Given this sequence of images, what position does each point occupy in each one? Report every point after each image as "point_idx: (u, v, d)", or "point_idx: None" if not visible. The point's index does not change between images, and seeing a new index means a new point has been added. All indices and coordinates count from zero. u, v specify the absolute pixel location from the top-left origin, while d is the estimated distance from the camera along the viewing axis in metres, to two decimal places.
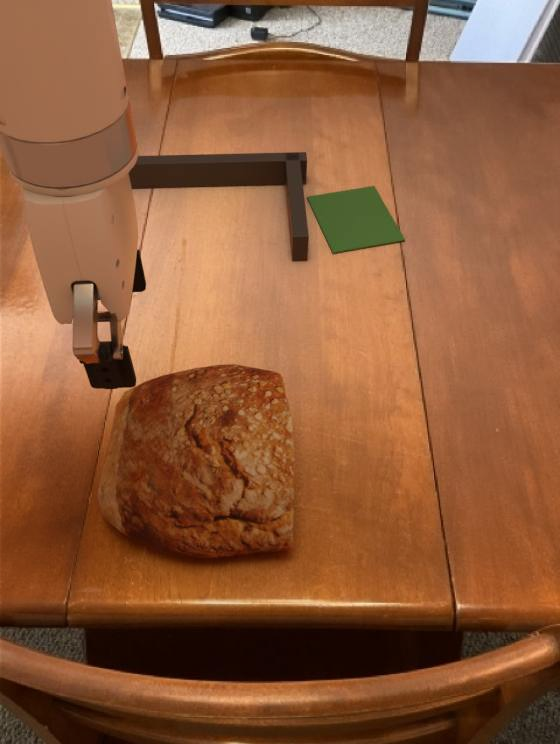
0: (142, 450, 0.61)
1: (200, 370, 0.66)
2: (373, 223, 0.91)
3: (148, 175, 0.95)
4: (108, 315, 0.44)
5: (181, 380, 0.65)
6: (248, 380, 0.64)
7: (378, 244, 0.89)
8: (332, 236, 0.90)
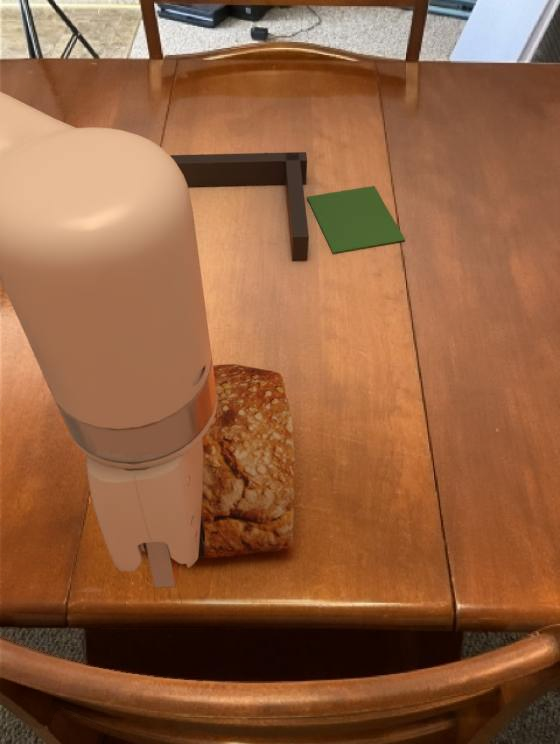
0: None
1: None
2: (373, 223, 0.91)
3: None
4: None
5: None
6: (248, 380, 0.64)
7: (378, 244, 0.89)
8: (332, 236, 0.90)
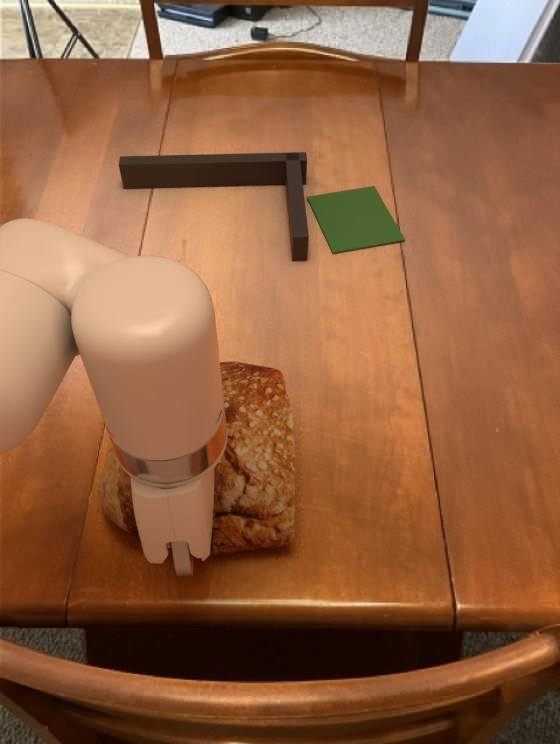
0: None
1: None
2: (373, 223, 0.91)
3: (148, 175, 0.95)
4: None
5: None
6: (249, 377, 0.64)
7: (378, 244, 0.89)
8: (332, 236, 0.90)
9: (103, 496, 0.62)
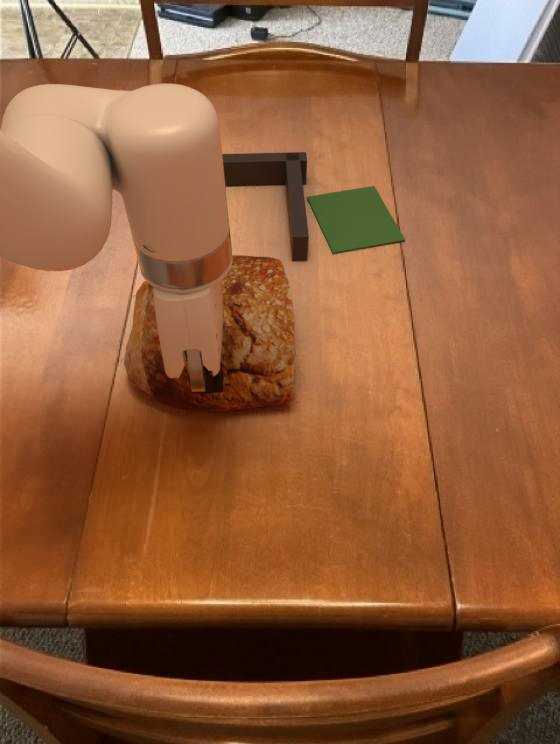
0: None
1: None
2: (373, 223, 0.91)
3: None
4: None
5: None
6: (252, 262, 0.74)
7: (378, 244, 0.89)
8: (332, 236, 0.90)
9: (128, 363, 0.72)
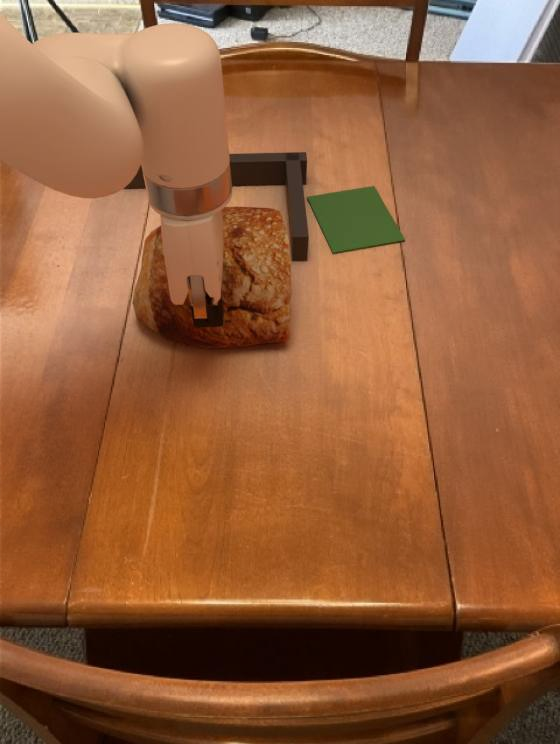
0: None
1: None
2: (373, 223, 0.91)
3: None
4: None
5: None
6: (253, 211, 0.80)
7: (378, 244, 0.89)
8: (332, 236, 0.90)
9: (136, 302, 0.77)
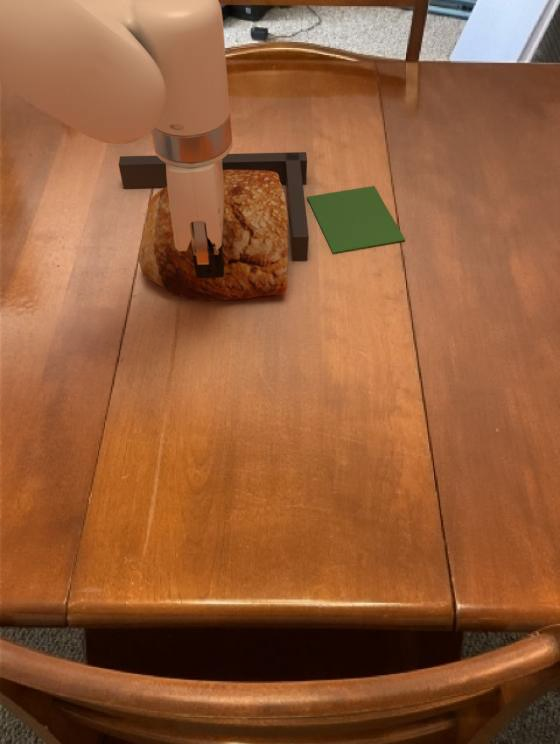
0: None
1: None
2: (373, 223, 0.91)
3: (148, 175, 0.95)
4: None
5: None
6: (251, 173, 0.84)
7: (378, 244, 0.89)
8: (332, 236, 0.90)
9: (142, 258, 0.82)
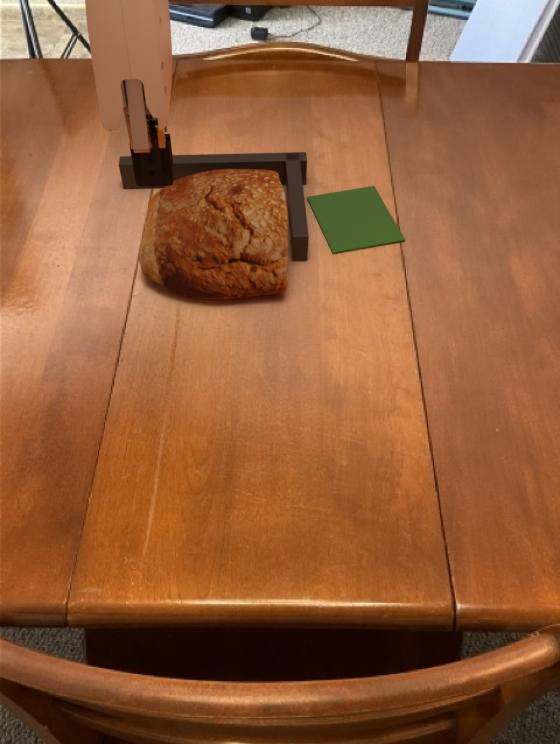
0: (172, 216, 0.81)
1: (213, 170, 0.87)
2: (373, 223, 0.91)
3: None
4: (154, 121, 0.52)
5: (199, 174, 0.85)
6: (251, 172, 0.85)
7: (378, 244, 0.89)
8: (332, 236, 0.90)
9: (142, 257, 0.82)
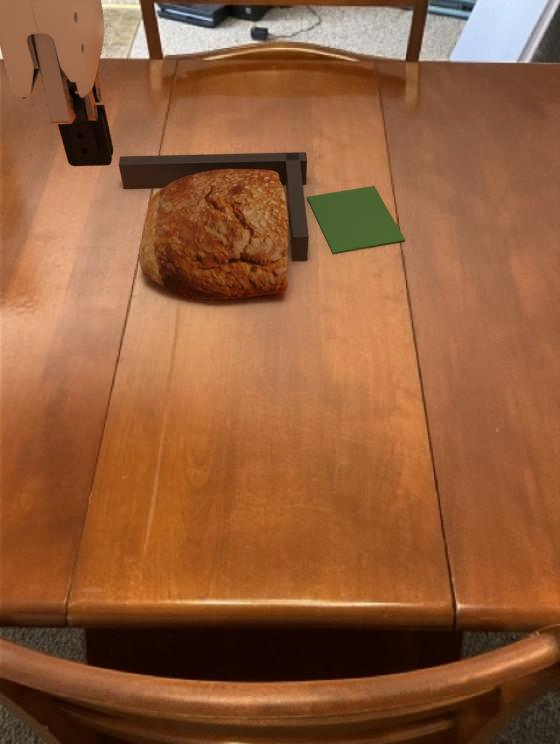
0: (173, 216, 0.81)
1: (213, 170, 0.87)
2: (373, 223, 0.91)
3: (148, 175, 0.95)
4: None
5: (199, 174, 0.85)
6: (251, 172, 0.85)
7: (378, 244, 0.89)
8: (332, 236, 0.90)
9: (142, 257, 0.82)
